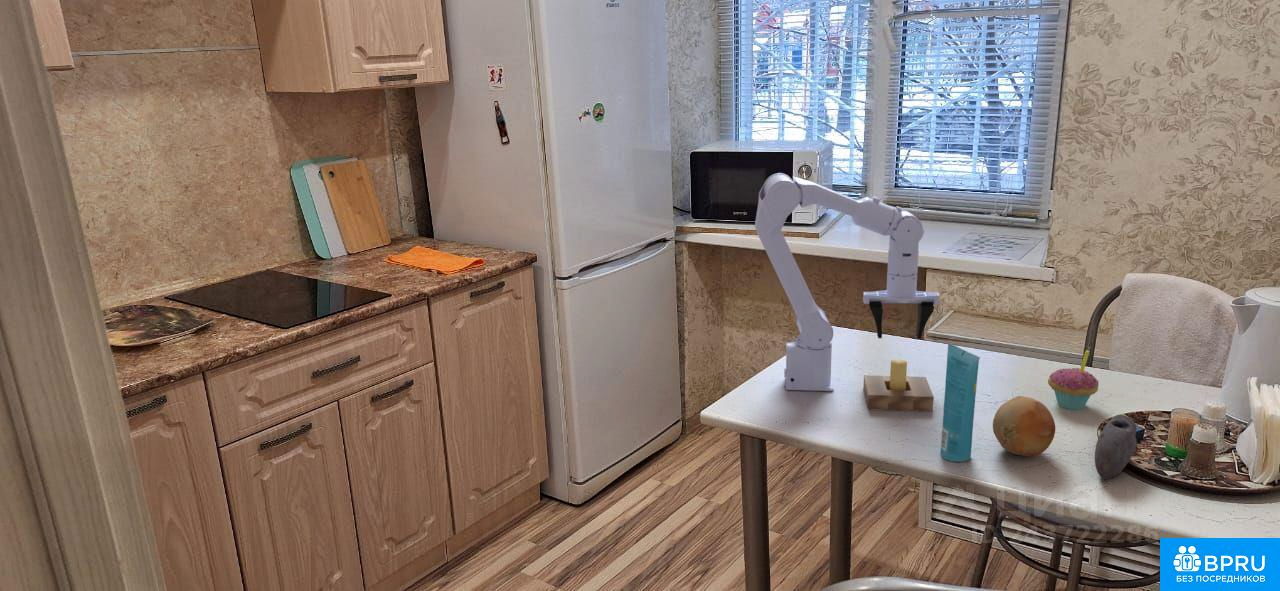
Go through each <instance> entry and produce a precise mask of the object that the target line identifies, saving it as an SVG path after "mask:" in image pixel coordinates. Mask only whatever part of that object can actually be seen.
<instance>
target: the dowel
mask: <svg viewBox="0 0 1280 591" xmlns="http://www.w3.org/2000/svg"><path fill="white" fill-rule="evenodd" d="M907 368H908V361H906V360H904V359H899V358H898V359H897V358H896V359H892V360H890V369H889V370H890V373H889V376H890V390H906V376H907Z"/></svg>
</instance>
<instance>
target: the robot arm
mask: <svg viewBox="0 0 1280 591" xmlns="http://www.w3.org/2000/svg"><path fill="white" fill-rule="evenodd" d="M794 180H795V181H794ZM880 201H881V199H880V198H879V197H877V196H872V197H871V198H870V197H867V196H865V197H863V198H860V199H857V200H856V199H854V198H851V197H849V196H847V195H845V194H842V193H840V192H837V191H835V190H833V189H831V188H828V187H825V186H823V185H821V184H818V183H816V182H813V181H811V180H806V179H805V178H801V177H797V176H792V177H790V176H789V175H788V174H785V173H783V172H778V173H774V174H771V175H770V176H768V178H766V180H765V181H764V184H763V185H762V187H761V188H760V190H759V192H758V203H757V210H756V215H755V221H754V228H755V230H756V233H757V236H758V238H759V240H760V242H761V244H762V246H763V248H764V250H765V252H766V254H767V258H769V261H770V263H771V265H772V267H773V270H774V271H775V273H776V276H777V277H778V280H779V282H780V284H781V286H782V287H783V290H784V291H785V294H786V297H787V298H788V300H789V302H790V304H791V306H792V309H793V311H794V313H795V325H796V327H797V329H798V330H799V334H798V335H797V338H795V341H793V342H791V341H790V342H786V344H785V346H786V350H785V351H786V353H785V356H786V357H785V360H786V361H785V368H784V370H783V371H784V378H785V390H786V391H814V392H818V391H819V392H833V391H834V381H833V380H834V379H833V375H832V354H833V353H832V351H833V350H832V348H833V346H832V345H833V337H834V328H833V325H831V323H830V322H829V320H828V318H827V315H826V313H825V311H824V310H823V308H821V307H819V306H818V305H817V304H816V302H815V299H814V298H813V296H812V293H811V291H810V289H809V287H808V284H807V283H806V281H805V279H804V278H805V277H804V276H803V274H802V272H801V270H800V268H799V265H798V264H797V261H796V259H795V257H794V255H793V253H792V251H791V249H790V247H789V245H788V242H787V240H786V238H785V236H784V234H783V231H782V229H783V226H784V225H785V223H786V220H787V218H788V216H790V215H791V213H793V212H794V211H795V209H797V207H798V206H800V207H801V208H806V207H808V206H811V205H818V206H821V207H824V208H827V209H830V210H833V211H835V212H839V213H841V214H845V215H848V216H850V217H851V218H852V220H853V223H854V225H856V226H859V227H860V228H863V229H866V230H869V231H871V232H873V233H877V234H879V235H881V236H889V244H888V251H887V252H888V254H887V257H888V258H887V272H886V274H887V275H886V290H878V291H877V290H876V291H863V294H862V296H863V297H862V298H863V299H862V301H863V304H864V305H868V306H869V309H870V312H871V314H872V316H873V318H874V322H875V327H876V334H877V339H882V338H883V315H884V314H883V312H884V309H883V304H917V322H916V330H915V331H916V332H915V335H916V338H917V340H922V337H923V336H922V335H923V333H924V329H925V327H926V325H927V323H928V320H930V317H931V315H932V314H933V313H934V311H935V310H934V309H935V305H939V306H940V300H941V299H940V298H941V296H940V293H939V292H932V291H919V290H917V284H918V270H919V269H918V268H919V253H920V252H919V243H920V240H922V238H923V237H924V234H925V229H924V228H923V223H922V221H921V220H920V219H919V218H918V217H917V216H915V215H914V214H912V213H911V212H909V211H907V210H906V209H904V208H902V207H900V206H898V205H897V206H895V207H894V206H892V205H889V204H886V203H883V202H880Z"/></svg>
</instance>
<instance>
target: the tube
mask: <svg viewBox="0 0 1280 591" xmlns="http://www.w3.org/2000/svg"><path fill="white" fill-rule="evenodd" d="M947 344H948V345H947V354H946V355H947V356H946V369H945V370H946V372H945V384H944V385H945V386H944V400H943V413H942V414H943V416H942V426H941V428H942V430H941V442H940V455H941V457H942V458H943V459H945V460H948V461H951V462H957V463H958V462H962V463H963V462H967V461H970V459H971V457H972V444H973V430H974V418H975V407H976V405H975V404H976V394H977V385H978V372H979V364H980V363H979V362H980V359H981V356H978V355H976V354H974V353H972V352H969V351H967V350H965V349H962V348H960V347H958V346H956V345H954V344H953V343H950V342H948V343H947Z"/></svg>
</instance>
